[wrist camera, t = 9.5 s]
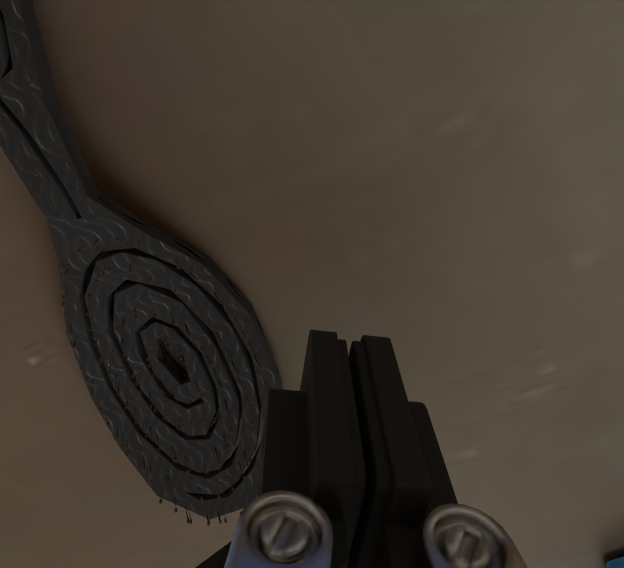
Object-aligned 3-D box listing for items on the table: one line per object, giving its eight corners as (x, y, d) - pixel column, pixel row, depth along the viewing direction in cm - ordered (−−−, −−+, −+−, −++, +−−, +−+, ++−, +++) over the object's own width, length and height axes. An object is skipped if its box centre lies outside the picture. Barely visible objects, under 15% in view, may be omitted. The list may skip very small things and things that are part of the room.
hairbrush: (-1, -213, 13) (315, 510, 22) (65, -158, 17) (315, 450, 26) (-271, -87, 14) (137, 553, 24) (-157, -60, 18) (159, 490, 27)
